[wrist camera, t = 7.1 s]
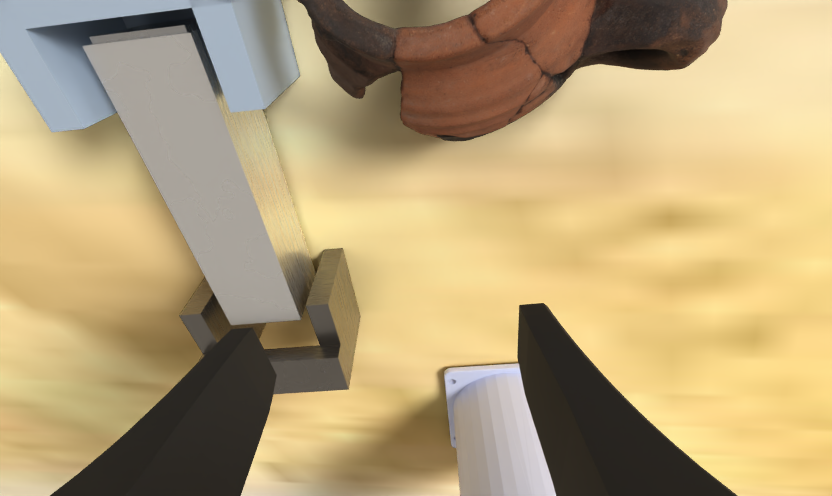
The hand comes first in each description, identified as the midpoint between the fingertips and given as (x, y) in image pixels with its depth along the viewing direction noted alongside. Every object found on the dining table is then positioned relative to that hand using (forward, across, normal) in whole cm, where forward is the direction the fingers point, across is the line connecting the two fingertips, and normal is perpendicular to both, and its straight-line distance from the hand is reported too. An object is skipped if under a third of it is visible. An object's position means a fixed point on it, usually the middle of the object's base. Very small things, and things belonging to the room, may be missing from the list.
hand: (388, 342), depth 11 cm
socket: (+10, +7, -7) cm, 14 cm away
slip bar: (+10, +7, -2) cm, 12 cm away
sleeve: (+10, +7, +6) cm, 13 cm away
